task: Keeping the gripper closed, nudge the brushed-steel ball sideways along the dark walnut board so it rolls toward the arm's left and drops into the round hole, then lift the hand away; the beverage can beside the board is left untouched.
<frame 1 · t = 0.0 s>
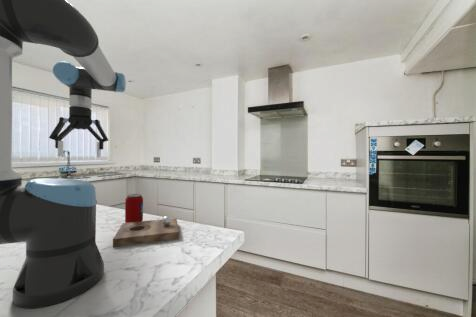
hand: (80, 156, 86), 28 cm above the countertop, fingers open, 13 cm apart
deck: (149, 233, 74), on the countertop
ball: (166, 220, 76), point 4 cm above the countertop, touching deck
beverage can: (134, 223, 85), on the countertop
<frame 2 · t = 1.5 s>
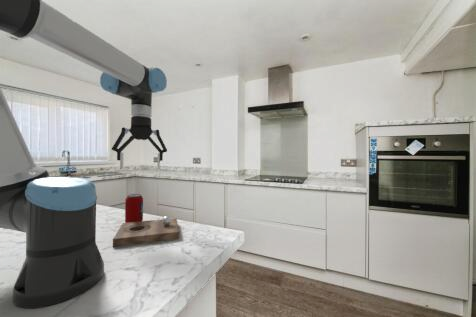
hand: (140, 168, 82), 23 cm above the countertop, fingers open, 13 cm apart
nothing on the countertop moved.
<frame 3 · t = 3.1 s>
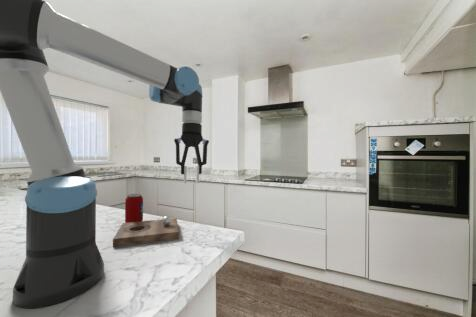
hand: (191, 182, 79), 19 cm above the countertop, fingers open, 4 cm apart
nothing on the countertop moved.
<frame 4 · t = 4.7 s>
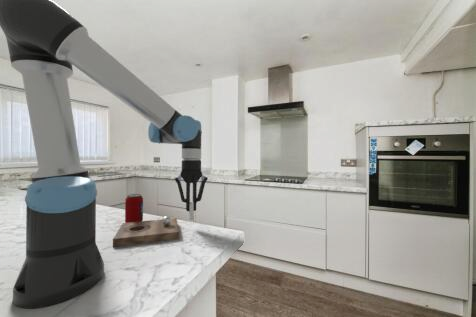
hand: (191, 218, 79), 4 cm above the countertop, fingers closed
nothing on the countertop moved.
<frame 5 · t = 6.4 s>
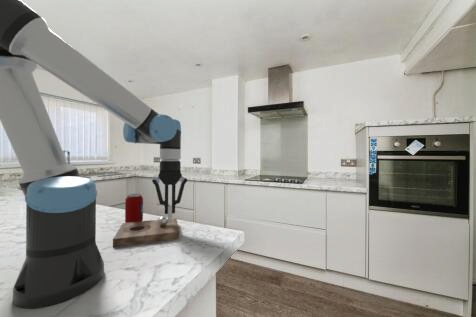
hand: (169, 221, 76), 4 cm above the countertop, fingers closed
ball: (163, 221, 75), point 4 cm above the countertop, tilted 40°, touching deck, gripper
everything else where it was.
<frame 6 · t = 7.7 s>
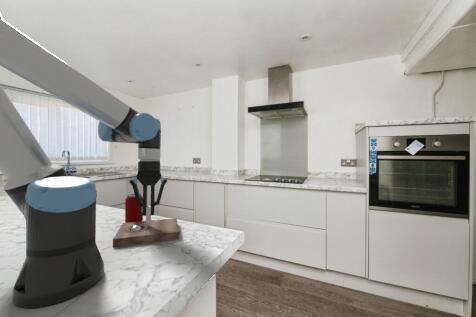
hand: (148, 224, 73), 4 cm above the countertop, fingers closed
ball: (136, 230, 72), point 2 cm above the countertop, tilted 6°
everything else where it was.
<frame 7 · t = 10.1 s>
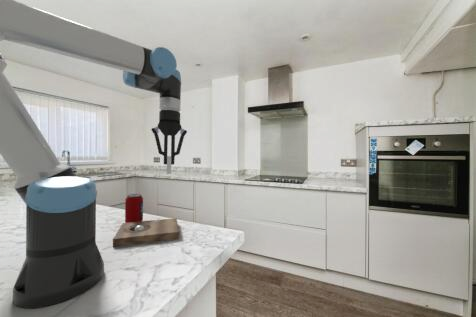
hand: (168, 173, 76), 22 cm above the countertop, fingers closed
ball: (139, 230, 73), point 2 cm above the countertop, tilted 44°
everything else where it was.
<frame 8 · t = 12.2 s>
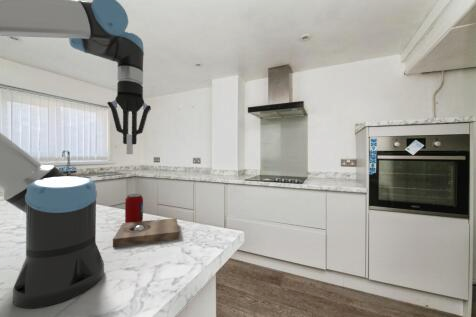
hand: (129, 154, 67), 29 cm above the countertop, fingers closed
nothing on the countertop moved.
at the end: ball 0.6 cm from the target spot on the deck, point 1.7 cm above the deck's base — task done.
